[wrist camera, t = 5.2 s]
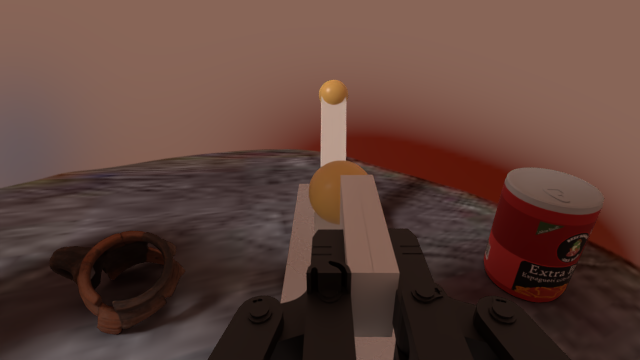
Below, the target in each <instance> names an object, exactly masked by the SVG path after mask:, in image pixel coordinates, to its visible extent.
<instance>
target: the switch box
mask: <svg viewBox="0 0 640 360" xmlns="http://www.w3.org/2000/svg"><path fill="white" fill-rule="evenodd" d="M309 185H310V184H299V190H298V196H297V203H296V209H295V215H294V221H293V228H292V234H291V240H290V247H289V253H288V259H287V265H286V272H285V278H284V284H283V291H282V297H281V303H285V302H289V301H292V300H294V299H297V298H298V297H300V296H301V295H303V294H304V293H305V292H306V290H307V280H306V272H307V269H308V267H309V266H310V265H311V250H312V237H313V236H314V234H315V228H314V209H313V208H312V206H311V203H310V199H309ZM395 341H396V338H395V333H394V329H393V332H392V337H355V349H356V360H393V357H394V349H395Z"/></svg>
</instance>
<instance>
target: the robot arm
mask: <svg viewBox="0 0 640 360" xmlns="http://www.w3.org/2000/svg"><path fill="white" fill-rule="evenodd" d="M306 280H307V290H306V292H305V293H304V294H303V295H301V296H300V297H298V298H297V299H294V300H292V301H289V302H285V303H280V302H279V301H278V300H277V299H275V298H273V297H270V296H257V297H253V298H251V299H249V300H247V301H245V302H244V303H243V304H242V305H241V306H240V307H239V309H238V310H237V312H236V314H235V315H234V317H233V319H232V320H231V322H230V324H229V325H228V327H227V328H226V330H225V332H224V333H223V335H222V337H221V338H220V340H219V342H218V343H217V345H216V347H215V348H214V350H213V352H212V353H211V355H210V357H209V358H208V360H356V349H355V337H392V332H393V329H394V333H395V338H396V341H395V349H394V357H393V360H571V359H570V358H569V357H568V356H567V355H566V354H565V353H564V352H563V351H562V350H561V349H560V348H559V347H558V346H557V345H556V344H555V343H554V342H553V341H552V339H551V338H550V337H549V336H548V335H547V334H546V333H545V332H544V331H543V330H542V329H541V328H540V327H539V326H538V325H537V324H536V323H535V322H534V321H533V320H532V319H531V318H530V317H529V316H528V314H527V313H526V312H525V311H524V310H523V309H522V308H520V307H519V306H518V305H517V304H515V303H514V302H512V301H510V300H508V299H506V298H502V297H498V296H486V297H483V298H481V299H480V300H479V301H478V303H477V305H473V304H469V303H465V302H461V301H458V300H455V299H452V298H450V297H449V296H447V294H446V293H445V291H444V290H443V288H441V287H440V286H439V285H437V284H436V283H434V281H433V278H432V276H431V273H430V271H429V268H428V265H427V263H426V260H425V258H424V255H423V253H422V250H421V247H420V245H419V242H418V240H417V237H416V236H415V235H414V234H413V233H412V232H411V231H410V230H409V229H387V225H386V221H385V218H384V214H383V210H382V207H381V203H380V199H379V196H378V192H377V188H376V185H375V181H374V177H373V175H341V177H340V229H318V230H317V232H316V233H315V234H314V236H313V237H312V250H311V265H310V266H309V267H308V269H307V272H306Z"/></svg>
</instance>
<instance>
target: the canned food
mask: <svg viewBox="0 0 640 360" xmlns="http://www.w3.org/2000/svg"><path fill="white" fill-rule="evenodd" d="M603 201H604V197H603V194H602V193H601V192H600V191H599V190H598V189H597V188H596V187H594V186H593V185H591V184H590V183H588V182H585V181H584V180H582V179H580V178H577V177H575V176H572V175H569V174H566V173H563V172H559V171H555V170H550V169H542V168H519V169H515V170H512V171H511V172H509V173H508V175H507V178H506V179H505V183H504V186H503V189H502V192H501V196H500V200H499V203H498V207H497V211H496V214H495V218H494V222H493V226H492V229H491V233H490V237H489V240H488V244H487V248H486V251H485V255H484V266H485V271H486V273H487V275H488V276H489V278H490V279H491V280H492V281H493V282H494V283H495V284H496V285H497V286H498V287H500V288H501V289H502V290H504V291H505V292H507V293H509V294H511V295H513V296H515V297H518V298H520V299H523V300H527V301H532V302H549V301H553V300H555V299H556V298H558V297H559V296H560V295H561V294H562V293H563V292H564V291H565V289H566V287H567V285H568V283H569V281H570V278H571V276H572V274H573V272H574V269H575V267H576V265H577V263H578V261H579V258H580V256H581V254H582V252H583V249H584V247H585V245H586V243H587V241H588V238H589V236H590V234H591V232H592V229H593V227H594V225H595V223H596V221H597V218H598V215H599V213H600V211H601V208H602V205H603Z"/></svg>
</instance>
